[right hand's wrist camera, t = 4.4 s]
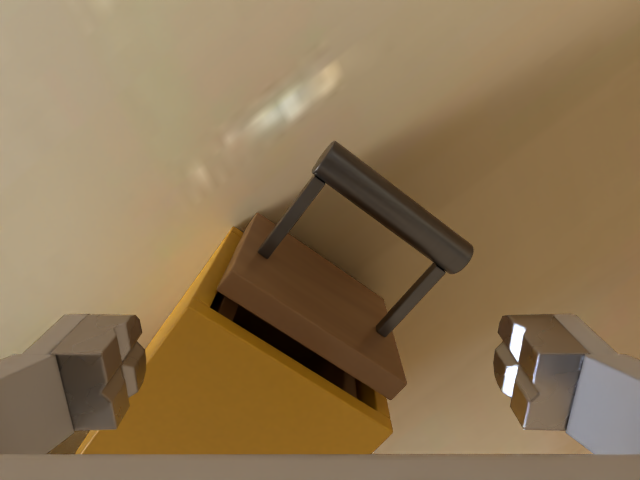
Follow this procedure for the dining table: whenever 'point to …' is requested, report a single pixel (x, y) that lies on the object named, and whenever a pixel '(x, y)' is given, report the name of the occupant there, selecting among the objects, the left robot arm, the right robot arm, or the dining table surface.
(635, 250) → the dining table surface
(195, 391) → the cabinet
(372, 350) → the drawer
